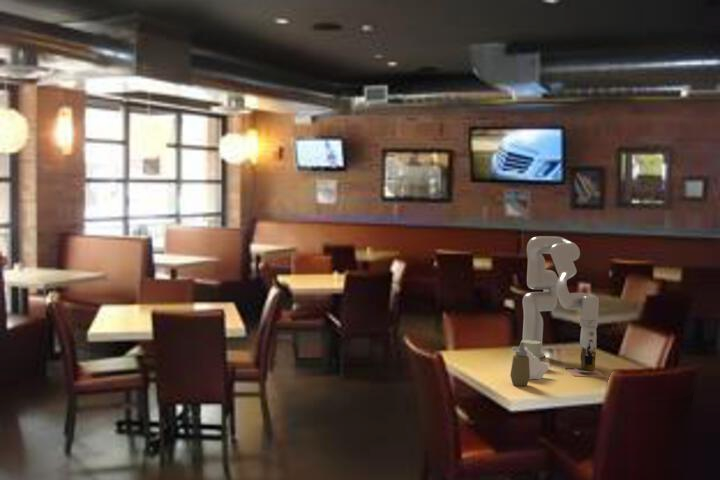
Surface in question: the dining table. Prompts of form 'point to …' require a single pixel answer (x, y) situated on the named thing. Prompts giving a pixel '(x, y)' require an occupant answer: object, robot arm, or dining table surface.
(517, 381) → the squeeze bottle
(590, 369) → the condiment
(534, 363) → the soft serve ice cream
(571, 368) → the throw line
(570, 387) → the dining table surface
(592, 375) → the mat
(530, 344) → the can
